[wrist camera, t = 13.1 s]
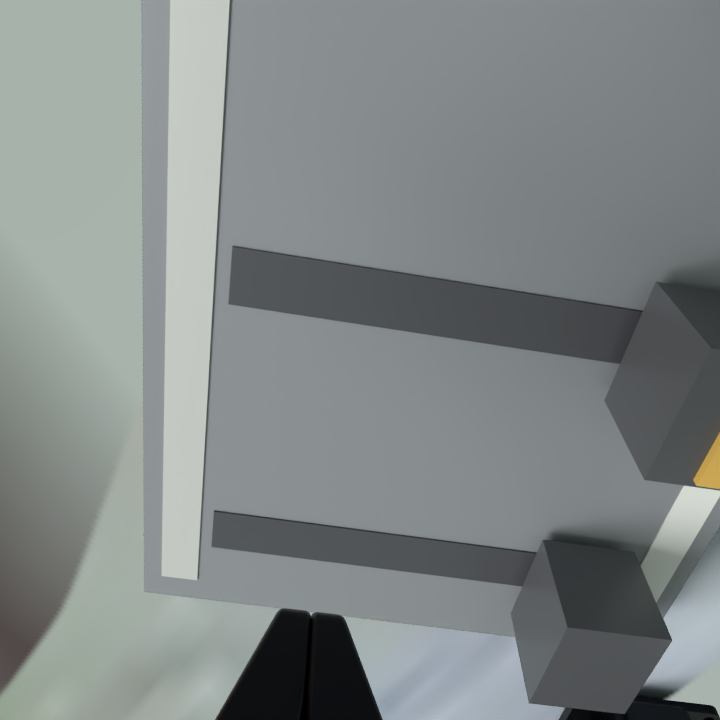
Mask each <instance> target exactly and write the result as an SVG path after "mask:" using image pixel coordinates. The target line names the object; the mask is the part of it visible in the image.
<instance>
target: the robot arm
mask: <svg viewBox="0 0 720 720" xmlns="http://www.w3.org/2000/svg"><path fill="white" fill-rule="evenodd" d="M215 720H382V717H381V714H380V712H379V709H378V706H377V704H376V701H375V698H374V696H373V693H372V690H371V687H370V685H369V682H368V679H367V677H366V674H365V671H364V669H363V666H362V663H361V661H360V658H359V655H358V653H357V650H356V647H355V645H354V642H353V639H352V637H351V634H350V631H349V628H348V626H347V623H346V621H345V619H344V618H343V617H342V616H341V615H338V614H330V613H322V612H315V613H313V614H312V616H311V615H310V613H309V612H308V611H305V610H297V609H289V608H282V609H280V610H279V611H278V612H277V613H276V615H275V617H274V619H273V620H272V622H271V624H270V625H269V627H268V629H267V631H266V632H265V634H264V636H263V638H262V639H261V641H260V643H259V645H258V646H257V648H256V650H255V651H254V653H253V655H252V657H251V658H250V660H249V662H248V664H247V665H246V667H245V669H244V671H243V672H242V674H241V676H240V677H239V679H238V681H237V683H236V684H235V686H234V688H233V690H232V691H231V693H230V695H229V697H228V698H227V700H226V702H225V703H224V705H223V707H222V709H221V710H220V712H219V714H218V716H217V717H216V719H215ZM559 720H720V717H719V715H718V713H717V710H716V708H715V707H713V706H710V705H703V704H694V703H686V702H677V701H669V700H660V699H652V698H643V697H635V699H634V700H633V702H632V704H631V705H630V707H629V708H628V710H627V711H626V713H625V714H619V713H610V712H601V711H593V710H584V709H575V708H567V707H566V708H565V710H564V712H563V713H562V715H561V717H560V719H559Z"/></svg>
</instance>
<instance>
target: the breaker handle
mask: <svg viewBox="0 0 720 720" xmlns="http://www.w3.org/2000/svg"><path fill="white" fill-rule="evenodd" d="M604 401H605V403H606V405H607V407H608V409H609V411H610V413H611V415H612V417H613V419H614V421H615V423H616V425H617V427H618V429H619V431H620V433H621V435H622V437H623V439H624V441H625V443H626V445H627V447H628V449H629V451H630V453H631V455H632V457H633V459H634V461H635V463H636V465H637V467H638V468H639V470H640V472H641V474H642V476H643V478H644V480H648V481H655V482H662V483H669V484H676V485H683V486H690V487H697V488H705V489H712V490H719V491H720V292H717V291H711V290H704V289H698V288H692V287H686V286H680V285H674V284H668V283H661V282H655V285H654V287H653V289H652V292H651V294H650V296H649V298H648V301H647V303H646V305H645V308H644V310H643V312H642V315H641V317H640V319H639V322H638V324H637V326H636V328H635V331H634V333H633V335H632V338H631V340H630V342H629V345H628V347H627V349H626V352H625V354H624V356H623V358H622V361H621V363H620V365H619V368H618V370H617V372H616V375H615V377H614V379H613V382H612V384H611V386H610V388H609V391H608V393H607V395H606V398H605V400H604Z"/></svg>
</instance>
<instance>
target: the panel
mask: <svg viewBox="0 0 720 720" xmlns="http://www.w3.org/2000/svg"><path fill="white" fill-rule="evenodd" d="M141 3H142V4H141V5H142V6H141V9H142V10H141V11H142V217H143V219H142V221H143V223H142V225H143V440H144V592H149V593H158V594H166V595H174V596H182V597H190V598H199V599H207V600H215V601H223V602H232V603H240V604H248V605H256V606H264V607H273V608H281V609H282V608H289V609H297V610H305V611H308V612H314V613H315V612H322V613H330V614H338V615H341V616H347V617H355V618H363V619H371V620H380V621H388V622H396V623H404V624H412V625H421V626H429V627H437V628H445V629H454V630H462V631H470V632H478V633H486V634H495V635H503V636H511V637H516V642H517V647H518V652H519V657H520V662H521V667H522V671H523V676H524V681H525V686H526V691H527V696H528V701H529V703H532V704H540V705H549V706H558V707H567V708H575V709H584V710H593V711H601V712H610V713H619V714H625V713H626V711H627V710H628V708H629V707H630V705H631V704H632V702H633V700H634V699H635V697H636V696H637V694H638V693H639V691H640V690H641V688H642V686H643V685H644V683H645V682H646V680H647V679H648V677H649V676H650V674H651V672H652V671H653V669H654V668H655V666H656V665H657V663H658V662H659V660H660V659H661V657H662V655H663V654H664V652H665V651H666V649H667V648H668V646H669V645H670V643H671V641H672V639H671V636H670V634H669V632H668V629H667V627H666V625H665V622H664V620H663V618H664V616H665V615H666V613H667V611H668V610H669V608H670V607H671V605H672V603H673V602H674V600H675V598H676V597H677V595H678V594H679V592H680V590H681V589H682V587H683V585H684V584H685V582H686V581H687V579H688V577H689V576H690V574H691V572H692V571H693V569H694V568H695V566H696V564H697V563H698V561H699V560H700V558H701V556H702V555H703V553H704V551H705V550H706V548H707V547H708V545H709V543H710V542H711V540H712V538H713V537H714V535H715V534H716V532H717V530H718V529H719V527H720V491H719V490H712V489H705V488H697V487H690V486H683V485H676V484H669V483H662V482H655V481H648V480H644V478H643V476H642V474H641V472H640V470H639V468H638V467H637V465H636V463H635V461H634V459H633V457H632V455H631V453H630V451H629V449H628V447H627V445H626V443H625V441H624V439H623V437H622V435H621V433H620V431H619V429H618V427H617V425H616V423H615V421H614V419H613V417H612V415H611V413H610V411H609V409H608V407H607V405H606V403H605V401H604V400H605V398H606V395H607V393H608V391H609V388H610V386H611V384H612V382H613V379H614V377H615V375H616V372H617V370H618V368H619V365H620V363H621V361H622V358H623V356H624V354H625V352H626V349H627V347H628V345H629V342H630V340H631V338H632V335H633V333H634V331H635V328H636V326H637V324H638V322H639V319H640V317H641V315H642V312H643V310H644V308H645V305H646V303H647V301H648V298H649V296H650V294H651V292H652V289H653V287H654V285H655V282H661V283H668V284H674V285H680V286H686V287H692V288H698V289H704V290H711V291H717V292H720V0H141Z"/></svg>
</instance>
